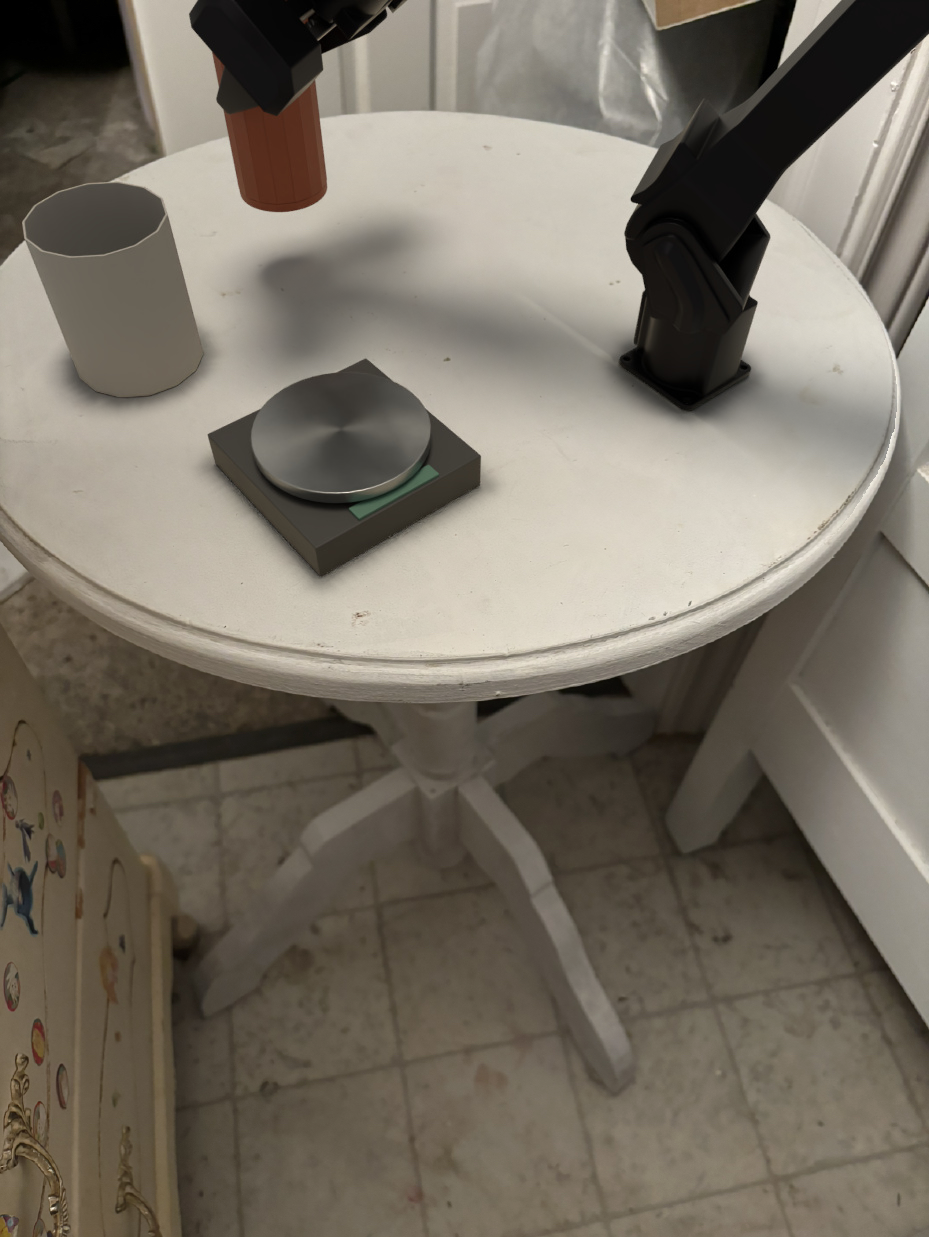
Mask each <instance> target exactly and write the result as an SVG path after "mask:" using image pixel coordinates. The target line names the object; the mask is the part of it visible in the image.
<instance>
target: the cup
mask: <svg viewBox="0 0 929 1237" xmlns="http://www.w3.org/2000/svg"><path fill="white" fill-rule="evenodd" d="M21 223H22V230H23V232H22V233H23V238H24V242H25V244H26V246H27V249H28V251H29V254H30V256H31V259H32V262H33V264H34V267H35V269H36V271H37V274H38V277H39V279H40V281H41V284H42V286H43V289H44V291H45V294H46V296H47V299H48V302H49V304H50V307H51V309H52V311H53V314H54V317H55V319H56V321H57V324H58V327H59V329H60V331H61V334H62V337H63V339H64V342H65V344H66V346H67V349H68V352H69V354H70V357H71V360H72V362H73V364H74V367H75V369H76V372H77V375H78V377H79V379H80V380H81V381H83V382H84V383H85V384H86V385H87V386H88V387H90V388H91V389H92V390H93V391H94V392H97V393H101V394H105V395H109V396H113V397H117V398H132V397H133V398H134V397H148V396H152V395H155V394H157V393H158V394H159V393H160V392H163V391H166V390H170V389H172V388H174V387H177V386H178V385H179V384H181V383H182V382H184V381H185V380H187V378H188V377H190V376H191V375H193V373H195V372H196V371H197V369H198V368H199V365H200V362H201V360H202V358H203V355H204V353H205V352H204V349H203V344H202V341H201V337H200V333H199V329H198V326H197V322H196V318H195V314H194V310H193V306H192V301H191V298H190V295H189V290H188V286H187V283H186V279H185V274H184V270H183V267H182V264H181V260H180V255H179V251H178V249H177V244H176V240H175V237H174V232H173V228H172V224H171V221H170V216H169V214H168V210H167V208H166V203H165V200H164V198H163V197H162V196H161V195H159V194H157V193H156V192H154V191H152V190H151V189H149V188H148V187H146V186H143V185H137V184H133V183H127V182H123V181H106V182H104V181H103V182H88V183H84V184H83V183H82V184H80V185H76V186H73V187H69V188H65V189H62V190H58V191H56V192H54V193H53V194H51V195H49V196H48V197H46V198H44V199H43V200H40V201H39V202H37V203H35V204H34V205H33V206H32V207H31V209H30V210H29V212H28V213H27V215H26V216H25V217H24V219H23V220H22V222H21Z"/></svg>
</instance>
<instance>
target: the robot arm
mask: <svg viewBox="0 0 929 1237" xmlns="http://www.w3.org/2000/svg"><path fill="white" fill-rule="evenodd" d="M407 1H408V0H287V1H285V0H196V1H195V4H194V5H193V7H192V8H191V10H190V11H189V13H188V16H189V23H190V28H191V30H193V31H194V33H195V34H196V35H197V36H198V37H199V39H200V40H202V42H203V43H204V44H205V45H206V47H207V48H208V49H209V50H210V51H211V53H212V52H213V53H214V54H215V56H216V57H217V58H218V59H219V60H220V61H221V63H222V64H223V65H224V70H223V74H222V77H221V81H220V85H218V89H217V93H216V97H215V100H216V103H217V104H218V106H220V108H221V109H222V110H224V111H225V112H226V113H227V114H229V115H230V114H234V113H237V112H241V111H244V110H248V109H252V108H255V107H260V108H261V109H262V110H263V111H264V112H265V113H268V114H271V115H274V116H278V115H279V114H280V113H281V112H282V111H283V110H285V109H286V108H287V107H288V106H289V105H290V104H291V103H292V102H294V101H295V100H296V99H297V98H298V97H299V96H300V95H301V94H302V93H303V92H304V91H305V90H306V89H307V88H308V87H309V86H311V85H312V84H313V83H314V80H315V81H316V79H317V78H318V77H319V76H320V75H321V73H323V71H324V63H323V54H327V53H328V52H330V51H332V50H335V49H337V48H339V47H341V46H343V45H346V44H349V43H351V42H353V41H355V40H357V39H359V38H362V37H364V36H367V35H369V34H370V33H371V32H373V31H374V30H375V29H376V28H377V27H378V26H379V25H380V24H382V23H383V22H384V21H385V20H386V19H387V18H388V11H387V8H388V9H389V11H390V12H391V13H392V14H394V13H395V12H396V11H397V10H398V9H399V8H400V7H402V6H403V5H404V4H405V3H406V2H407ZM307 18H308V21H307V23H306V24H304V23H303V21H305V20H306V19H307ZM928 36H929V0H840V1H839V2H838V3H837V4H836V5H835V6H834V8H832V9H831V11H829V13H827V14H826V16H825V17H824V18H823V19H822V20H821V21H820V22H819V23H818V25H816V27H815V28H814V29H813V30H811V32H810V33H809V34H808V35H807V36H806V37H805V38H804V39H803V41H801V43H799V45H798V46H797V47H796V48H795V49H794V50H793V51H792V52H791V53H790V55H788V57H786V59H785V60H783V62H782V63H781V64H780V65H779V67H778V68H776V69H775V71H773V73H771V75H770V76H769V77H768V78H767V79H766V80H765V81H764V82H763V84H761V86H760V87H759V88H758V89H757V90H756V91H755V92H754V93H753V94H752V95H751V96H750V97H749V98H747V99H746V100H745V101H744V102H742V103H741V104H739V105H737V106H734V108H732V109H730V110H728V111H727V112H725V113H723V114H720V115H719V114H718V112H717V110H715V108H714V107H713V105H712V104H711V102H710V101H709V100H708V98H703V99H702V100H701V102H700V103H699V105H698V107H697V108H696V109H695V111H694V113H693V114H692V116H691V118H690V119H689V121H688V122H687V124H686V125H685V126H684V128H683V129H682V130H681V131H680V132H679V133H678V134H677V135H675V137H673V138H671V139H670V140H668V141H666V142H664V143H662V144H661V145H660V146H659V147H658V149H657V151H656V153H655V155H654V156H653V158H652V160H651V161H650V163H649V164H648V166H647V169H646V170H645V172H644V174H643V176H642V178H641V179H640V181H639V182H638V184H637V186H636V187H635V190H634V191H633V193H632V195H631V197H630V199H629V200H630V202H631V203H633V204H637V205H636V207H635V208H634V210H633V211H632V213H631V216H630V217H629V218H628V221H627V223H626V226H625V229H624V232H623V236H624V240H625V250H626V253H627V255H628V257H629V260H630V262H631V264H632V265H633V266H634V268H636V270H637V271H638V272H639V274H640V275H641V277H642V282H643V287H644V290H643V291H642V293H641V297H640V298H641V299H640V304H639V309H638V314H637V320H636V326H635V331H634V335H633V336H634V337H633V344H634V345H635V346H636V347H634V348H633V349H631V350H629V351H627V352H625V353H623V354H622V355H620V357H619V359H618V360H619V361H618V366H619V367H621V368H622V369H623V370H625V371H626V372H628V373H629V374H631V375H632V376H634V377H635V378H636V379H637V380H639V381H641V382H642V383H643V384H645V385H646V386H648V387H649V388H651V389H652V390H653V391H655V392H656V393H658V394H659V395H660V396H662V397H663V398H665V399H666V400H668V401H669V402H671V403H672V404H673V405H674V406H676V407H677V408H679V410H682V411H686V412H691V411H693V410H694V409H696V408H698V407H699V406H701V405H703V404H704V403H706V402H707V401H709V400H710V399H711V400H712V399H713V398H715V397H716V396H718V395H719V394H720V393H722V392H724V391H726V390H728V389H729V388H731V387H732V386H734V385H735V384H738V383H739V382H740V381H742V380H744V379H746V378H747V377H749V376H750V374H751V370H752V367H751V365H750V364H749V363H747V362H745V361H744V360H742V357H743V354H744V350H745V347H746V344H747V341H748V338H749V334H750V331H751V327H752V325H753V324H752V323H753V321H754V318H755V314H756V311H757V307H758V305H759V302H758V300H757V299H755V298H753V297H752V296H751V295H750V294H751V290H752V288H753V285H754V283H755V281H756V278H757V275H758V272H759V270H760V267H761V264H762V261H763V259H764V257H765V254H766V251H767V249H768V246H769V243H770V241H771V234H770V232H769V231H768V229H767V228H766V225H765V224H764V223H763V221H762V219H761V218H760V216H759V215H758V212H759V210H760V209H761V206H762V205H763V204H764V202H765V201H766V200H767V198H768V197H769V195H770V194H771V192H772V190H773V189H774V187H775V186H776V184H777V183H778V181H779V180H780V179H781V177H782V176H783V174H784V173H785V172H786V171H787V170H789V168H790V167H791V166H792V165H793V164H794V163H795V162H796V161H797V160H798V159H799V158H801V156H802V155H804V154H805V153H806V152H807V151H808V150H809V149H810V148H811V147H812V146H813V145H814V144H815V143H817V141H818V140H820V138H821V137H823V136H824V135H825V134H826V133H827V132H828V131H829V130H830V129H831V128H832V127H833V126H834V125H835V124H836V123H837V122H838V121H839V120H841V119H842V118H843V117H844V116H845V115H846V114H847V113H848V112H849V111H850V110H851V109H852V108H853V107H854V106H855V105H856V104H857V103H858V102H859V101H860V100H862V99H863V98H864V96H866V95H867V94H868V93H869V92H870V91H871V90H872V89H873V88H874V87H875V86H876V85H877V84H878V83H880V81H882V79H884V78H885V77H886V76H887V75H888V74H889V73H890V72H891V71H892V70H893V69H894V68H896V66H897V65H899V63H900V62H901V61H902V60H903V59H904V58H905V57H907V56H908V55H909V54H910V53H911V52H912V51H913V50H914V49H916V47H917V46H919V45H920V43H921V42H923V40H925V39H926V38H927V37H928ZM224 111H223V112H224Z"/></svg>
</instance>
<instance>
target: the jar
mask: <svg viewBox="0 0 929 1237" xmlns="http://www.w3.org/2000/svg"><path fill="white" fill-rule="evenodd" d="M285 1H287V0H285ZM307 21H308V18H307V19H306V20H305V21H303V23H304V24H306V23H307ZM211 54H212V58H213V59H212V60H213V64H214V69H215V70H214V71H215V75H216V79H217V80H216V81H217V84H218V86H219V85H220V81H221V77H222V74H223V70H224V65H223V64H222V63H221V61H220V60H219V59H218V58H217V57H216V56H215V54H214V53H213V52H212V51H211ZM222 110H223V109H222ZM223 115H224V121H225V125H226V131H227V136H228V141H229V146H230V151H231V156H232V160H233V161H232V162H233V166H234V172H235V177H236V182H237V186H238V190H239V193H240V197H241V199H242V200H243V202H244V203H245V204H246V205H248V206H250V207H252V208H253V209H256V210H259V211H263V212H269V213H289V212H295V211H301V210H303V209H306V208H309V207H311V206H314V205H315V204H317V203H318V202H319V201H320V200H322V199H323V198H324V197H325V195H326V194H327V191H328V175H327V168H326V167H327V166H326V160H325V159H326V158H325V152H324V151H325V150H324V142H323V134H322V125H321V116H320V109H319V99H318V91H317V84H316V79H315V80H314V83H313V84H312V85H311V86H309V87H308V88H307V89H306V90H305V91H304V92H303V93H302V94H301V95H300V96H299V97H298V98H297V99H296V100H295V101H294V102H292V103H291V104H290V105H289V106H288V107H287V108H286V109H285V110H283V111H282V112H281V113H280V114H279V115H278V116H274V115H271V114H268V113H265V112H264V111H263V110H262V109H261V108H260V107H255V108H252V109H248V110H244V111H241V112H237V113H234V114H230V115H229V114H227V113H226V112H225V111H224V110H223Z"/></svg>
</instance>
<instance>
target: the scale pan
mask: <svg viewBox="0 0 929 1237" xmlns="http://www.w3.org/2000/svg"><path fill="white" fill-rule="evenodd" d="M336 372H337V373H336ZM336 372H329V373H322V374H318V375H313V376H310V377H306V378H303V379H301V380H298V381H296V382H293V383H292V384H289V385H288V386H285V387H284V388H282V389H280V390H279V391H277V392H276V393H275V394H274V395H272V396H271V397H270V398H269V399H267V401H266V402H265V403H264V404H263V405H262V406H261V407H260V408H259V409H260V411H259V412H258V414H257V415H256V418H255V420H254V422H253V425H252V429H251V447H252V451H253V455H254V458H255V461H256V464H257V466H258V467H259V469H260V471H261V472H262V473H263V475H264V476H265V477H266V478H267V479H268V480H269V481H270V482H271V483H272V484H274V485H275V486H277V487H278V488H280V489H281V490H283V491H285V492H287V493H289V494H291V495H293V496H296V497H299V498H302V499H306V500H310V501H315V502H323V503H350V502H356V501H363V500H366V499H370V498H374V497H377V496H380V495H382V494H385V493H387V492H389V491H391V490H393V489H395V488H397V487H399V486H400V485H402V484H403V483H405V482H406V481H407V480H409V479H410V478H411V477H412V476H413V475H414V474H415V473H416V472H417V471H418V470H419V469H420V467H421V466H422V464H423V463H424V461H425V459H426V457H427V455H428V453H429V449H430V446H431V424H430V419H429V415H428V413H427V411H426V409H427V408H426V407H425V405H424V404H423V403H422V401H421V400H420V398H418V397H417V396H416V394H414V392H412V391H411V390H409V389H408V388H407V387H405V386H403V385H402V384H400V383H398V382H396V381H394V380H392V379H391V380H392V381H391V380H389V379H386V378H383V377H380V376H376V375H371V374H366V373H357V372H338V371H336Z"/></svg>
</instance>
